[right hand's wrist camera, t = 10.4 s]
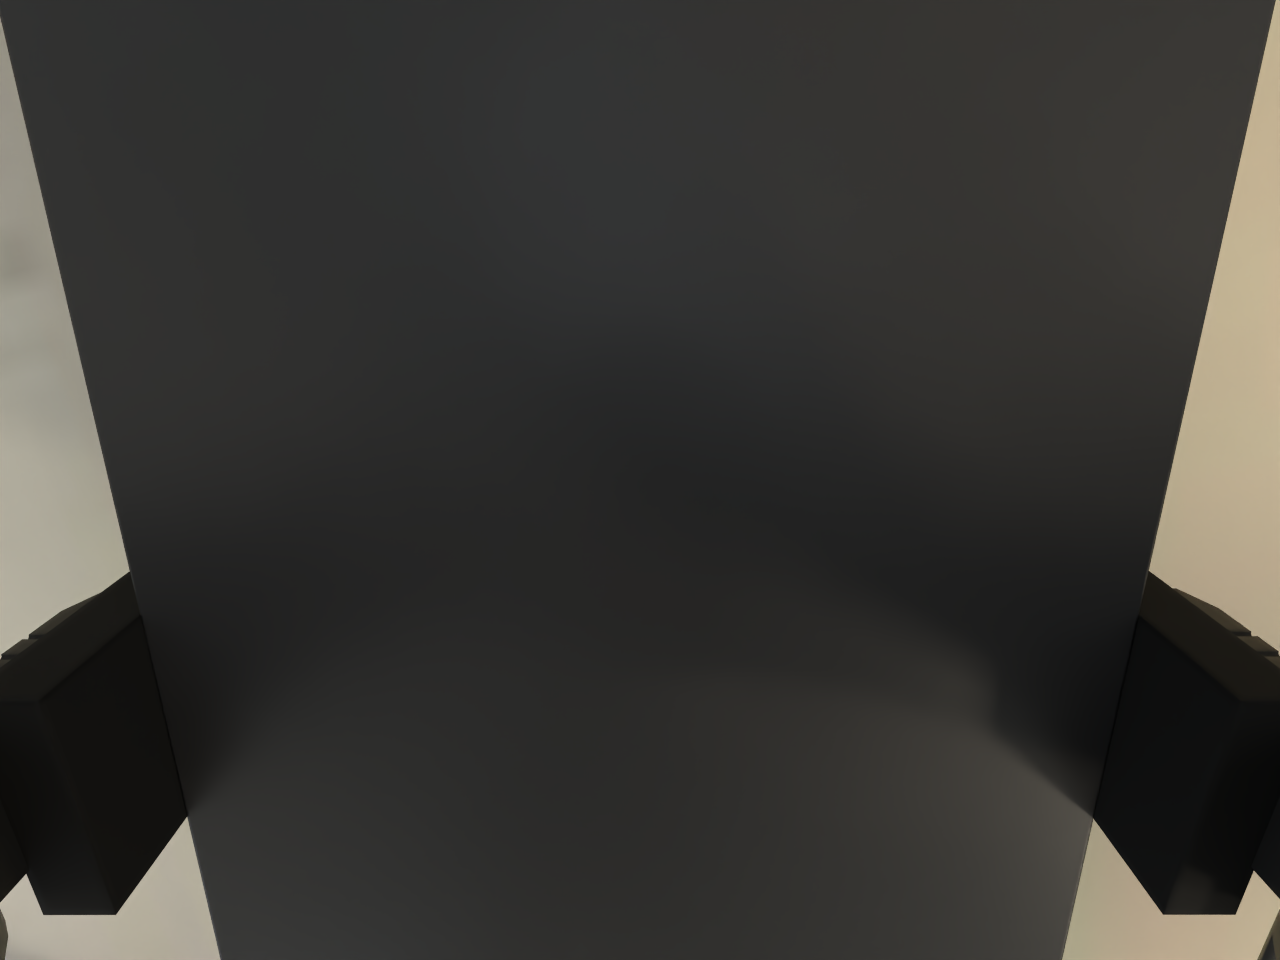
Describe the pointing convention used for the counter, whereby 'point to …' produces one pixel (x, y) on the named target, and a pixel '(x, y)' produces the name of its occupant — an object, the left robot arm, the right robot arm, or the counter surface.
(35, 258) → the counter surface
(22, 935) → the counter surface
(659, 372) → the cabinet
